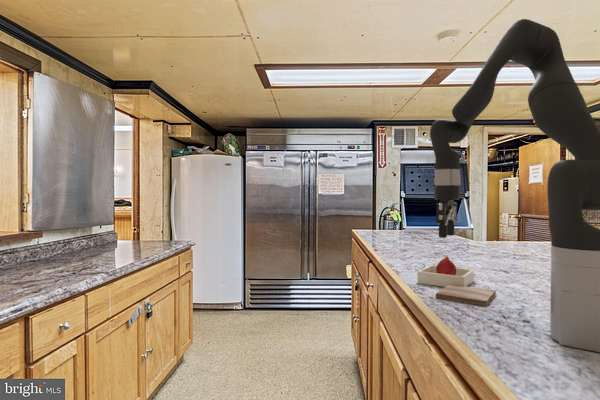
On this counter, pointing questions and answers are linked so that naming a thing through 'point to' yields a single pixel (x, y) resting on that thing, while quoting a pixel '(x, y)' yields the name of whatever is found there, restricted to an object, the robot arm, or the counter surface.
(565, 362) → the counter surface
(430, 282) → the shallow wooden tray
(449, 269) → the onion
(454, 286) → the board
